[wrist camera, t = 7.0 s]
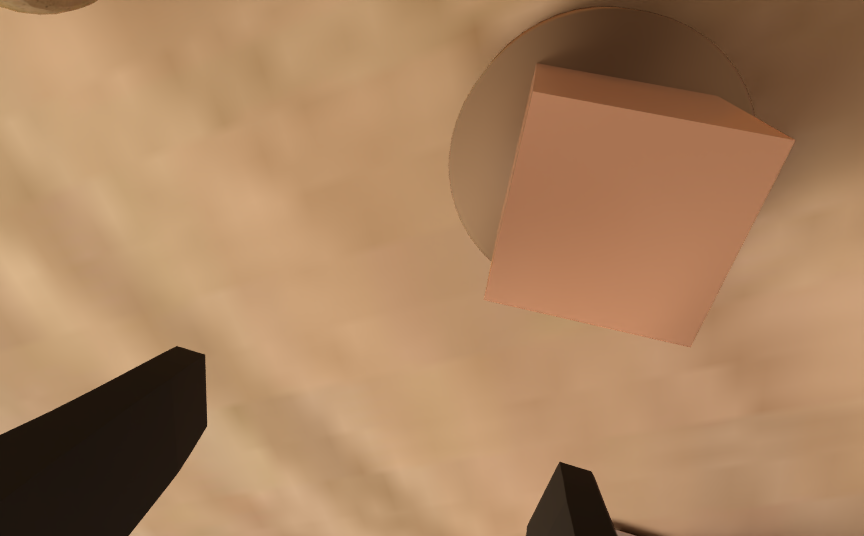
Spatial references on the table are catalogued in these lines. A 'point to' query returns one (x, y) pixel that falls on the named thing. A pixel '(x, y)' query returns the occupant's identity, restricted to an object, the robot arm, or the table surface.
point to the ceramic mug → (44, 5)
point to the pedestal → (578, 50)
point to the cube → (629, 202)
